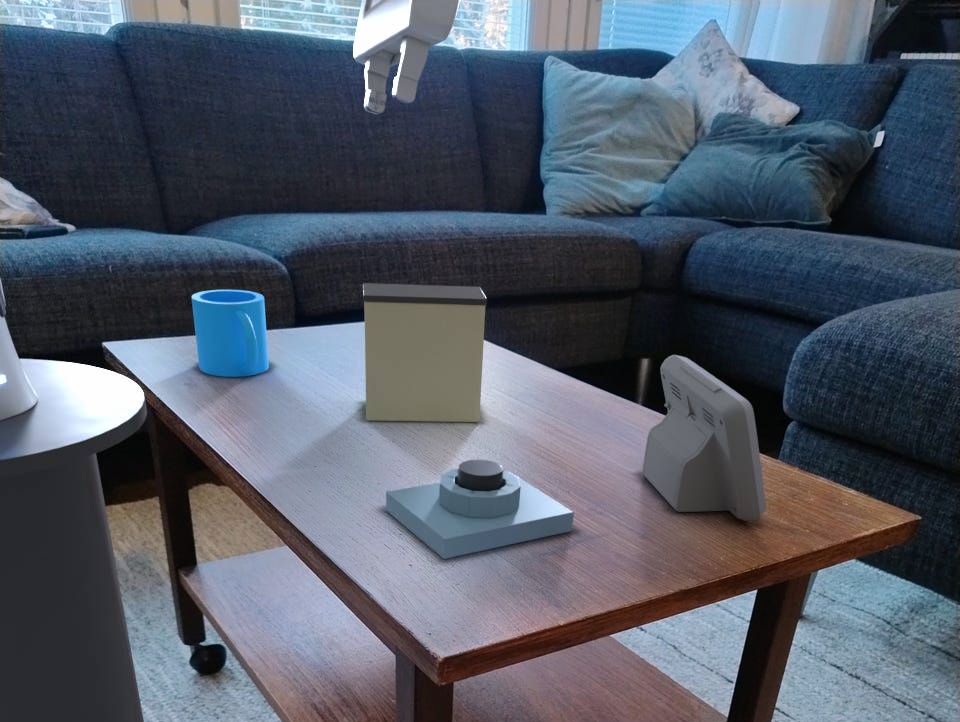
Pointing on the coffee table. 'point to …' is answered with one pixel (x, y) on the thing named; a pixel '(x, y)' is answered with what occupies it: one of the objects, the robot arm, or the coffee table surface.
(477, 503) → the box
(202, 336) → the mug
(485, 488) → the timer button
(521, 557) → the coffee table surface
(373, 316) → the box
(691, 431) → the digital clock
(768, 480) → the coffee table surface
